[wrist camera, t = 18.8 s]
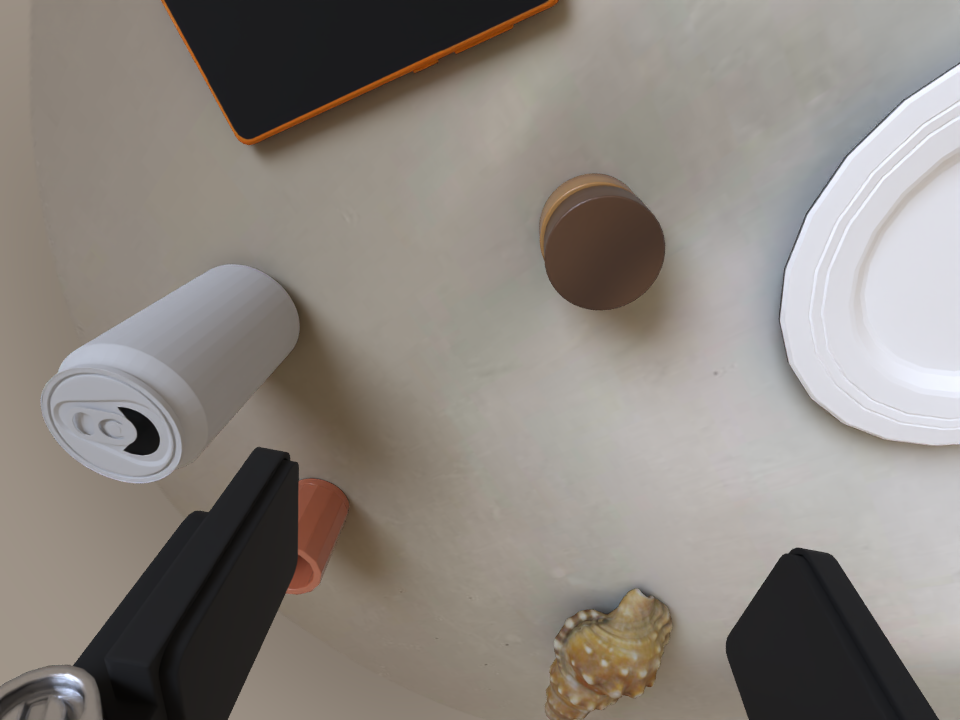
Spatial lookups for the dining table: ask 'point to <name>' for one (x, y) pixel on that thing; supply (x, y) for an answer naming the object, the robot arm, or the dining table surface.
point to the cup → (317, 531)
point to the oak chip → (569, 189)
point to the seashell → (607, 656)
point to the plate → (885, 277)
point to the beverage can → (170, 374)
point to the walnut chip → (603, 248)
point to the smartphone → (324, 49)
